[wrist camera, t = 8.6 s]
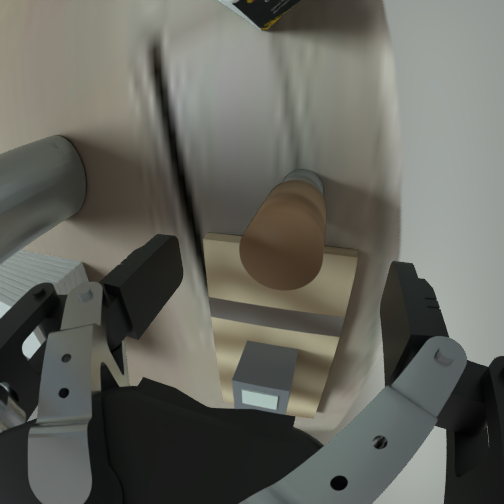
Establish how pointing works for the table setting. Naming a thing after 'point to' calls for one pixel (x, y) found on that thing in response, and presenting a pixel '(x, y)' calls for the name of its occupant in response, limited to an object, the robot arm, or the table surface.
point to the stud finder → (264, 377)
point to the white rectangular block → (36, 283)
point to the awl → (287, 234)
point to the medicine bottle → (260, 10)
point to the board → (278, 317)
